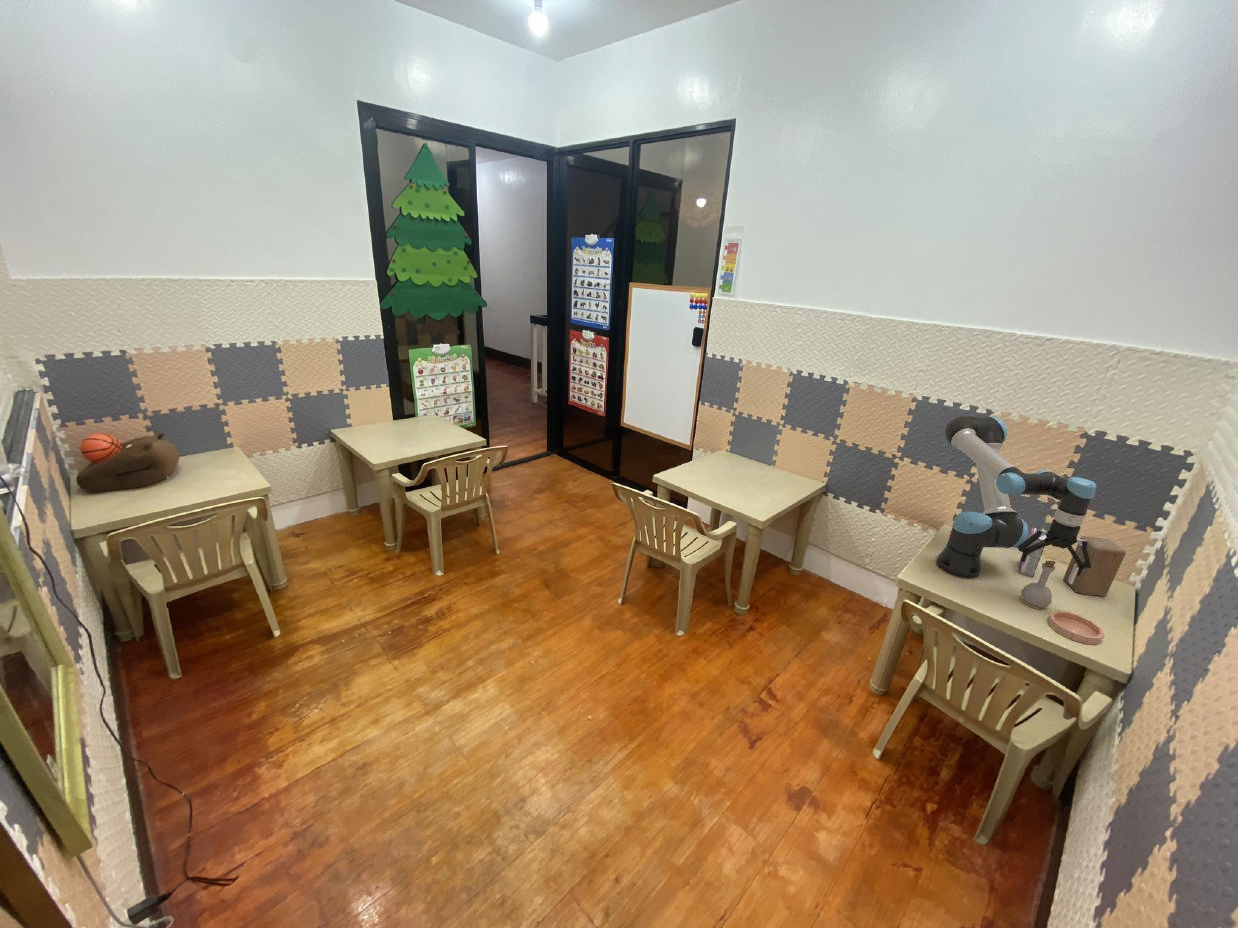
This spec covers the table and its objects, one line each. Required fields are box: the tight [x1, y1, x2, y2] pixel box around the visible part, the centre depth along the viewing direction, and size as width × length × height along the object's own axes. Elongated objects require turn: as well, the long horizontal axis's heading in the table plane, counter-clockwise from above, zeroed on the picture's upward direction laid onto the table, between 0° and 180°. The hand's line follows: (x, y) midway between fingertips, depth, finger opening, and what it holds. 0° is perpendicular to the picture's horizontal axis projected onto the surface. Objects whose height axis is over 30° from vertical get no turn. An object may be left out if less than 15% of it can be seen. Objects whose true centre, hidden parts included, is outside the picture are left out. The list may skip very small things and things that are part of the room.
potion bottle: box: [1020, 560, 1057, 610], centre depth 186 cm, size 9×9×18 cm
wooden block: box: [1063, 535, 1127, 597], centre depth 197 cm, size 10×10×20 cm
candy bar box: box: [1018, 527, 1047, 578], centre depth 208 cm, size 11×5×16 cm, turn 143°
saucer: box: [1047, 610, 1106, 645], centre depth 176 cm, size 14×14×2 cm
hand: (1045, 575), depth 185 cm, fingers open, 13 cm apart
